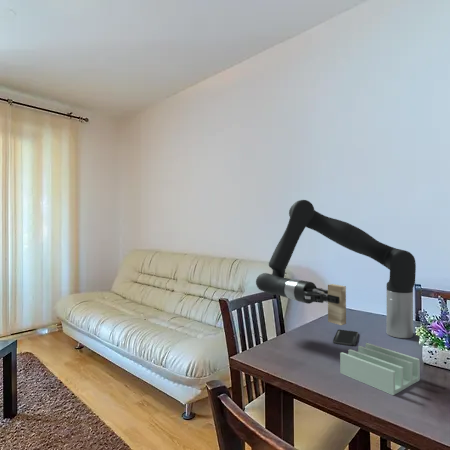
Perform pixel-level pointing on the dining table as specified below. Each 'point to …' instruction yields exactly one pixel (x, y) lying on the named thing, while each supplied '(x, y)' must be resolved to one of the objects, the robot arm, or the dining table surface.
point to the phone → (345, 337)
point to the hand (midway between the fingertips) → (341, 299)
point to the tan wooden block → (337, 305)
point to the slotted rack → (380, 368)
